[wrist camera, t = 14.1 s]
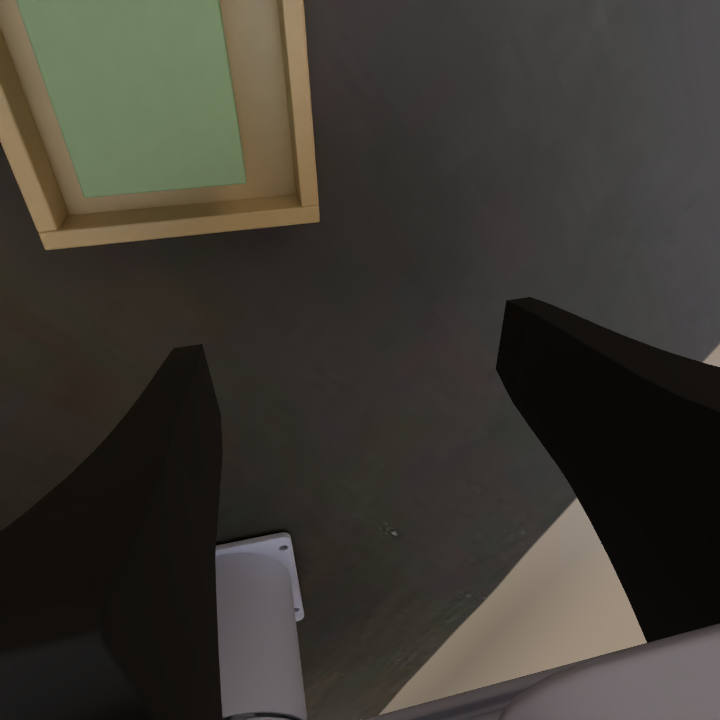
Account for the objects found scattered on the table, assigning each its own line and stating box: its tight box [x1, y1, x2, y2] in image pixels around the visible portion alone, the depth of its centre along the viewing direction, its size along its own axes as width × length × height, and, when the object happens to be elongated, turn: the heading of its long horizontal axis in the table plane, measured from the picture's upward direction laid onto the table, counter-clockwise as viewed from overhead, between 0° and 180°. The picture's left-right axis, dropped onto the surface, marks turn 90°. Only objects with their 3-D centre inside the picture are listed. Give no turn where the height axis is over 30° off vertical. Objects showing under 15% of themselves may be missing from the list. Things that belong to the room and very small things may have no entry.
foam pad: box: [16, 0, 247, 198], centre depth 14 cm, size 6×4×3 cm
